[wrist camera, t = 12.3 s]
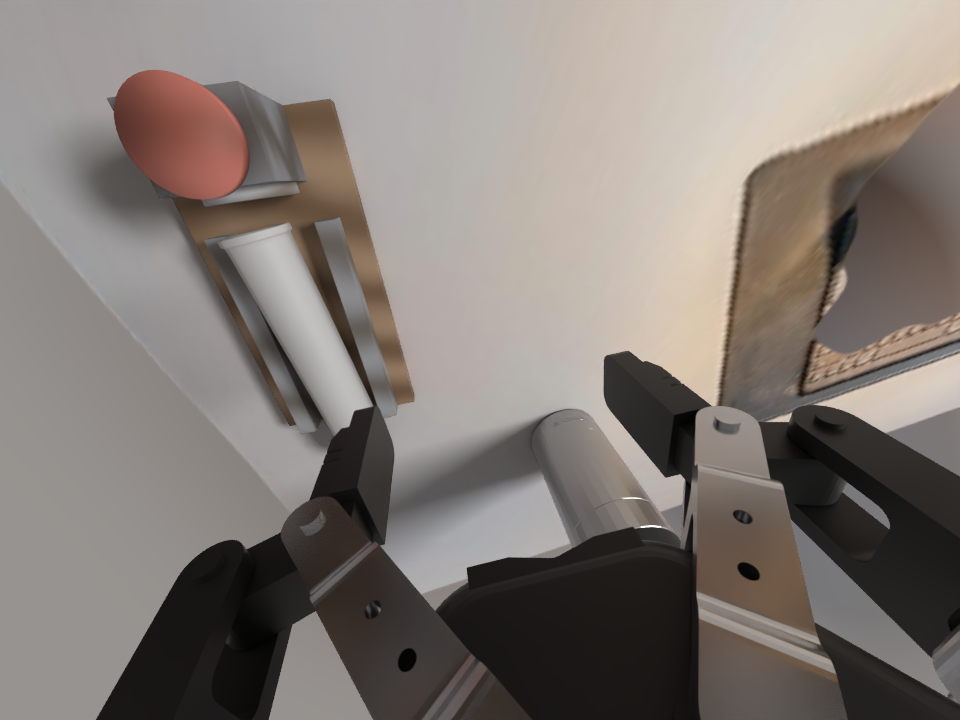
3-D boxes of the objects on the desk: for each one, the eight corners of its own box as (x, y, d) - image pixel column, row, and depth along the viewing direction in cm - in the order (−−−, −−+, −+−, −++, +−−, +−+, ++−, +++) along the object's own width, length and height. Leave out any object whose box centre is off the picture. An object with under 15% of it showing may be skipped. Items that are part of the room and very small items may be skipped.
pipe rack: (414, 395, 40) (412, 453, 31) (293, 419, 39) (257, 485, 31) (331, 94, 26) (287, 52, 18) (142, 119, 25) (1, 88, 17)
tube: (400, 459, 37) (288, 222, 25) (353, 484, 36) (209, 244, 24) (389, 433, 42) (289, 221, 30) (346, 454, 40) (222, 238, 28)
